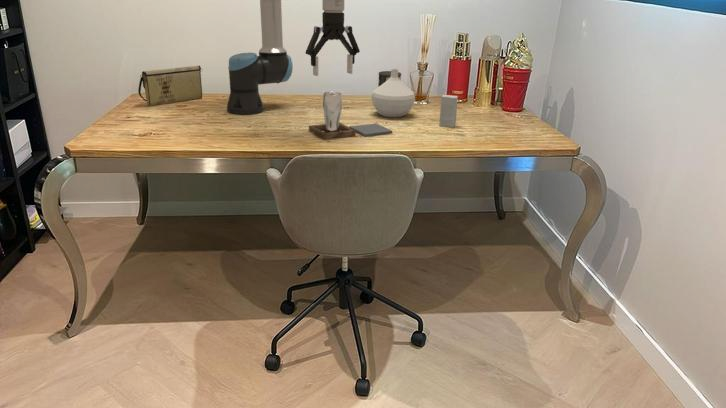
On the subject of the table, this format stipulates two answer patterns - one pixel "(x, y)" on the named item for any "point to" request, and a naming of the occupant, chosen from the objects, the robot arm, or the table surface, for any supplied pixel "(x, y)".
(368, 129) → the slate pad
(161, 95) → the clutch purse
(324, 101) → the beer glass
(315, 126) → the frame
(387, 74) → the coffee can
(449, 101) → the skincare box
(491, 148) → the table surface
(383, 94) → the vase
